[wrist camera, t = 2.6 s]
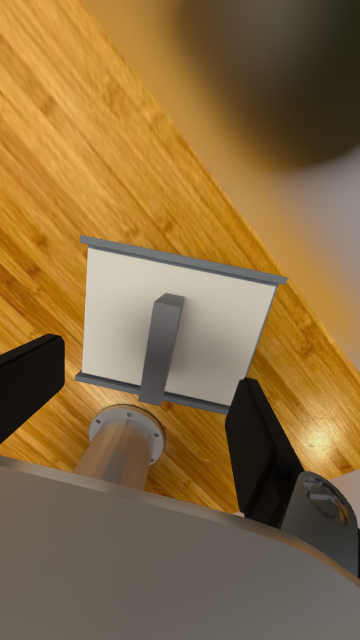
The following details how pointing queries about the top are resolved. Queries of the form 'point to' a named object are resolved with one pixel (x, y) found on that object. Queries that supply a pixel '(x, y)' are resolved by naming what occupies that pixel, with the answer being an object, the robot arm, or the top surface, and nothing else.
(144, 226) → the top surface
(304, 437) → the top surface
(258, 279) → the slate box
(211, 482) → the top surface
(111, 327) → the cover plate
